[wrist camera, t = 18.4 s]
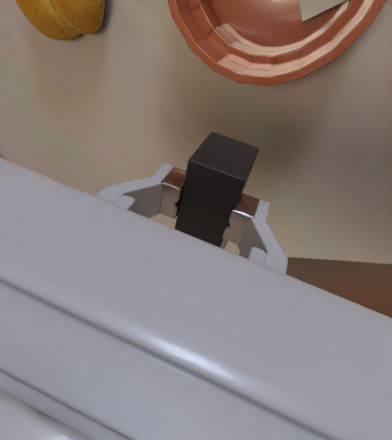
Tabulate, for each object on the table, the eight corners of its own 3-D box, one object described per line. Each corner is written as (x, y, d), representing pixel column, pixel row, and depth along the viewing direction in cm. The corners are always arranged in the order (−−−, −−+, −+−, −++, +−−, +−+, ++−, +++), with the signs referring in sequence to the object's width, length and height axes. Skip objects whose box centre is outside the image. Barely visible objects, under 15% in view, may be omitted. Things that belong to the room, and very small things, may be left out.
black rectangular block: (206, 129, 14) (182, 157, 11) (264, 149, 13) (251, 182, 11) (181, 237, 19) (162, 271, 17) (222, 253, 19) (207, 290, 16)
